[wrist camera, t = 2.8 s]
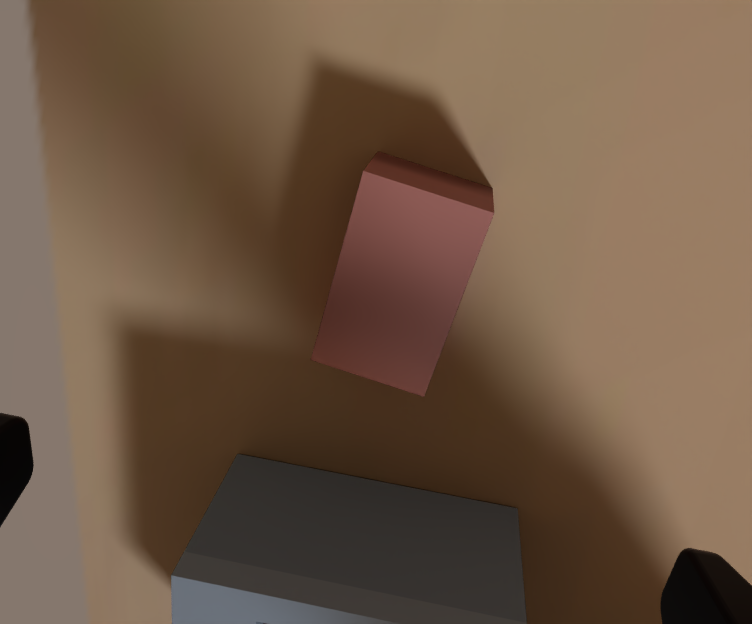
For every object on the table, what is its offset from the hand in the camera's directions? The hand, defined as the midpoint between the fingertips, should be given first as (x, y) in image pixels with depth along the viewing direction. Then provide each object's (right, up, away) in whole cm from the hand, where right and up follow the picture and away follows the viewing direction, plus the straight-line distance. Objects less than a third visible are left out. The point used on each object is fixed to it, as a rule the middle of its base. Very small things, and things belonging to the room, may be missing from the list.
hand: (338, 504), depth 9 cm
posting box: (0, -7, +14) cm, 15 cm away
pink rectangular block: (+1, +4, +9) cm, 10 cm away
